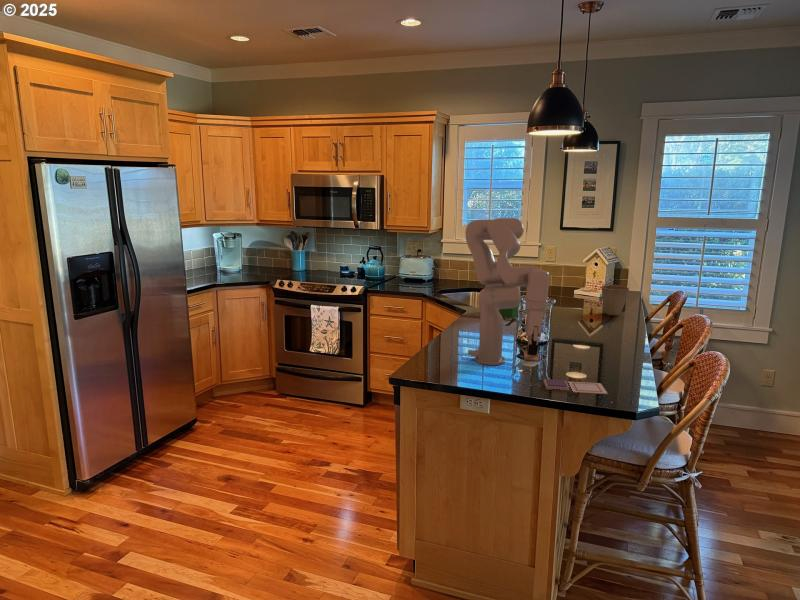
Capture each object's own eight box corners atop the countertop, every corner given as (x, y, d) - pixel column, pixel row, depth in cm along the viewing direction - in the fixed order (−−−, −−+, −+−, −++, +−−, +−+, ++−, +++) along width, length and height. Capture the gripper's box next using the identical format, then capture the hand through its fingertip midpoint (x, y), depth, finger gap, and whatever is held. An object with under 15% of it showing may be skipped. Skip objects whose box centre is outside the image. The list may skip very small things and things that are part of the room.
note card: (572, 392, 188) (572, 391, 188) (567, 382, 198) (567, 381, 198) (607, 394, 187) (607, 393, 187) (600, 383, 196) (600, 382, 196)
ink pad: (546, 389, 191) (546, 385, 190) (543, 382, 197) (543, 378, 197) (569, 390, 190) (569, 386, 189) (565, 383, 196) (565, 379, 196)
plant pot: (595, 314, 307) (597, 287, 304) (604, 310, 318) (607, 284, 315) (621, 318, 297) (624, 290, 294) (630, 313, 308) (633, 287, 305)
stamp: (524, 361, 192) (527, 330, 189) (523, 357, 196) (526, 326, 193) (538, 361, 191) (541, 330, 188) (537, 358, 195) (540, 327, 192)
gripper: (523, 298, 197) (519, 345, 201) (527, 309, 181) (523, 360, 185) (543, 299, 196) (539, 346, 200) (550, 310, 180) (545, 361, 185)
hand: (531, 352), depth 193 cm, fingers closed on stamp, 3 cm apart
